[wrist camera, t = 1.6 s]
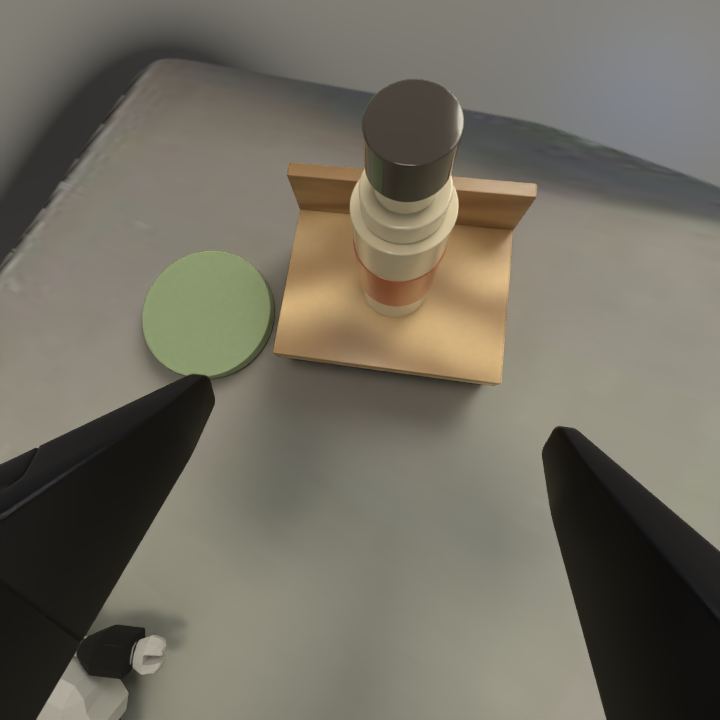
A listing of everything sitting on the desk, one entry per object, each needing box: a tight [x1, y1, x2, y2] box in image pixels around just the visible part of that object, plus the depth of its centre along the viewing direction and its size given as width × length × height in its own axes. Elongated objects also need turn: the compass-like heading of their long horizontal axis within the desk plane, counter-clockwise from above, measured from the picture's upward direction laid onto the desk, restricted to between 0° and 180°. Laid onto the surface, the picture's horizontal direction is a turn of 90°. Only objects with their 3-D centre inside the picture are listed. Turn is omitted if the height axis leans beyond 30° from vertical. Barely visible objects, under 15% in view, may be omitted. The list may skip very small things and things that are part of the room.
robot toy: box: [36, 625, 167, 720], centre depth 19 cm, size 12×4×15 cm
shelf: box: [273, 163, 537, 386], centre depth 20 cm, size 10×13×6 cm
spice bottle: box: [350, 79, 464, 317], centre depth 14 cm, size 4×4×11 cm
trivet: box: [142, 251, 275, 379], centre depth 23 cm, size 9×9×1 cm
